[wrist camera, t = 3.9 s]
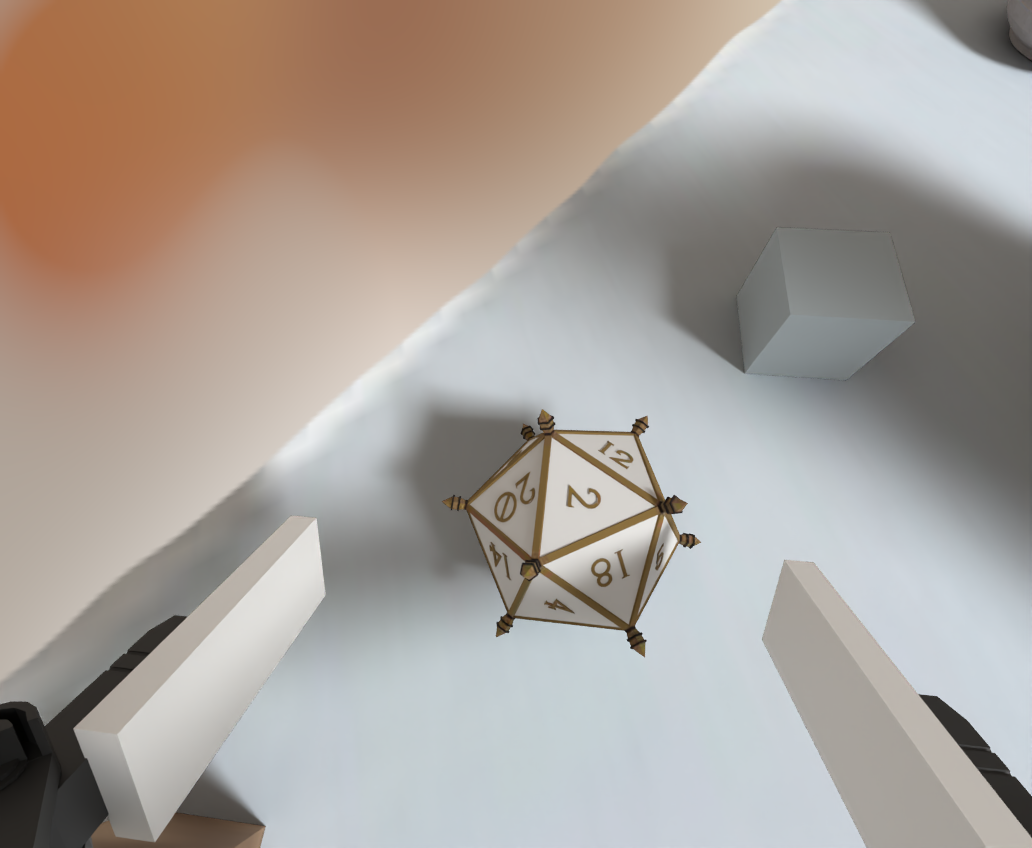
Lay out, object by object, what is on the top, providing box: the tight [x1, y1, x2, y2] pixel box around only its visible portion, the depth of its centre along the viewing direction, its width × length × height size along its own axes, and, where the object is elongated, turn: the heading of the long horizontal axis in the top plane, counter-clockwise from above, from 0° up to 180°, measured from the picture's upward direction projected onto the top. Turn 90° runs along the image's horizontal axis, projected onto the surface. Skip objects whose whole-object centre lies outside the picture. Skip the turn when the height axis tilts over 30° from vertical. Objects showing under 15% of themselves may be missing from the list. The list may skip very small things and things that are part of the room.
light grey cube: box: [737, 227, 916, 380], centre depth 23 cm, size 5×5×5 cm
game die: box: [442, 409, 701, 657], centre depth 18 cm, size 9×8×10 cm
